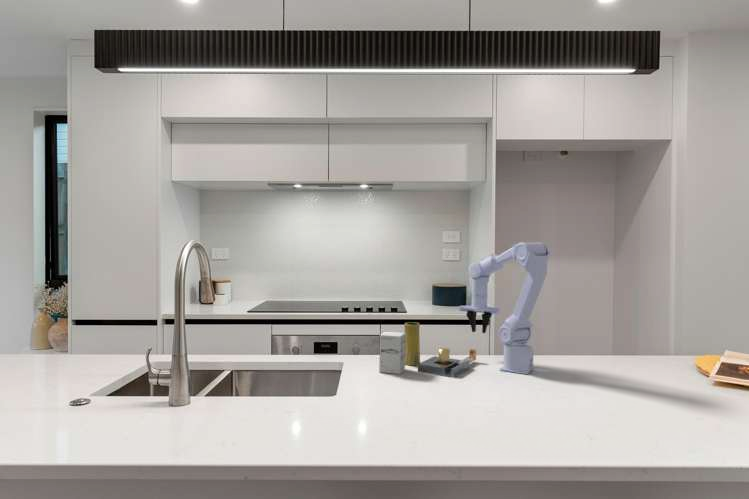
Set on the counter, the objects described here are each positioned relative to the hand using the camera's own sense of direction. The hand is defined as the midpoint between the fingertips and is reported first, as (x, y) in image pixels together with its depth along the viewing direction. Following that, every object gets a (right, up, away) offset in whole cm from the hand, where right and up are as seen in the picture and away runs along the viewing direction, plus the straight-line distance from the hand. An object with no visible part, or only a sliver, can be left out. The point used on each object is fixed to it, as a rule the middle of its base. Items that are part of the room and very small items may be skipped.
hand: (479, 332), depth 188 cm
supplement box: (-32, -11, -17) cm, 38 cm away
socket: (-15, -10, -15) cm, 24 cm away
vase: (-25, -10, -7) cm, 28 cm away
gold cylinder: (-15, -10, -15) cm, 24 cm away
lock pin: (-6, -9, -10) cm, 15 cm away
